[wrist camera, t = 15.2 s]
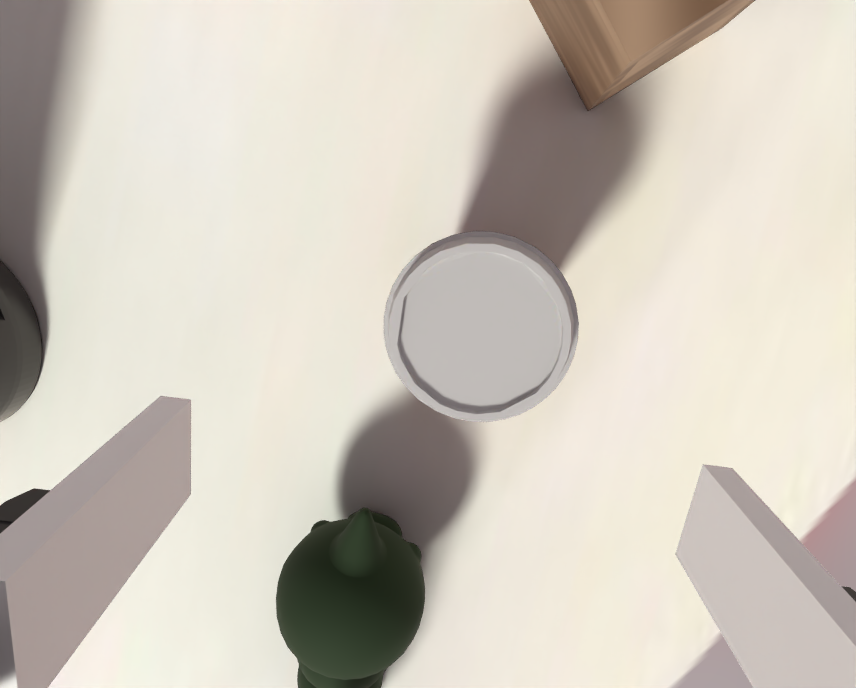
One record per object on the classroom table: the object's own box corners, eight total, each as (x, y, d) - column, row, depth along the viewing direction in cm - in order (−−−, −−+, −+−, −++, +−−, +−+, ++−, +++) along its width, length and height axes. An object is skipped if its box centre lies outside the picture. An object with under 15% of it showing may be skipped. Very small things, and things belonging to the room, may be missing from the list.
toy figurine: (393, 716, 49) (457, 459, 41) (326, 1035, 31) (416, 689, 23) (285, 686, 50) (328, 426, 42) (159, 981, 32) (192, 626, 24)
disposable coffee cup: (474, 195, 38) (463, 188, 26) (587, 289, 38) (626, 322, 27) (385, 308, 40) (339, 347, 29) (493, 395, 41) (491, 468, 29)
